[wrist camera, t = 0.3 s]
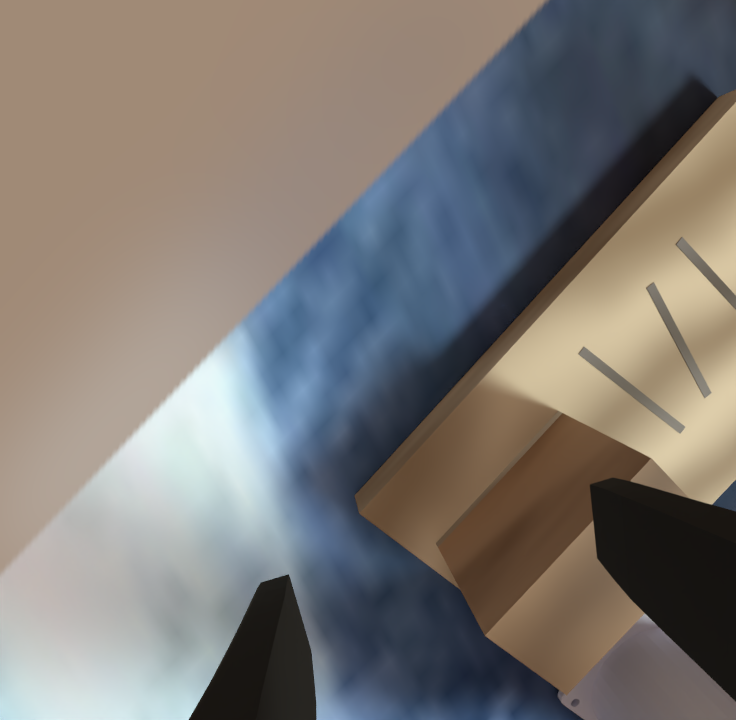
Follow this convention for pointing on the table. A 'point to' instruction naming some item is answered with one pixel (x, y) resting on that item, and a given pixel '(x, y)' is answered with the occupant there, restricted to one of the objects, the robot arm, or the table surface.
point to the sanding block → (548, 552)
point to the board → (599, 353)
